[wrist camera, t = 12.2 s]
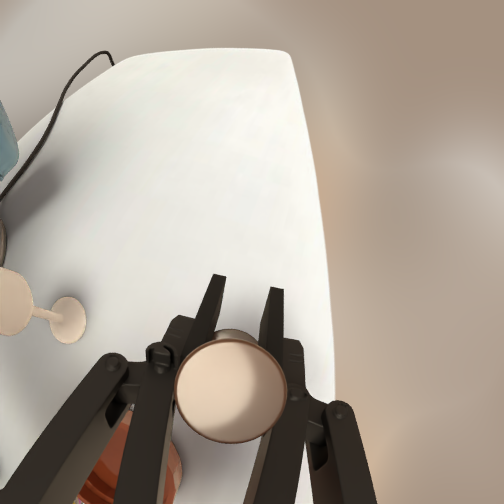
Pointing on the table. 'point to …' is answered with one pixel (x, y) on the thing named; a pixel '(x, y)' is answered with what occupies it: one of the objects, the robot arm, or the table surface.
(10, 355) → the table surface
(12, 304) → the champagne flute
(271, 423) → the pestle
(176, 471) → the bowl
